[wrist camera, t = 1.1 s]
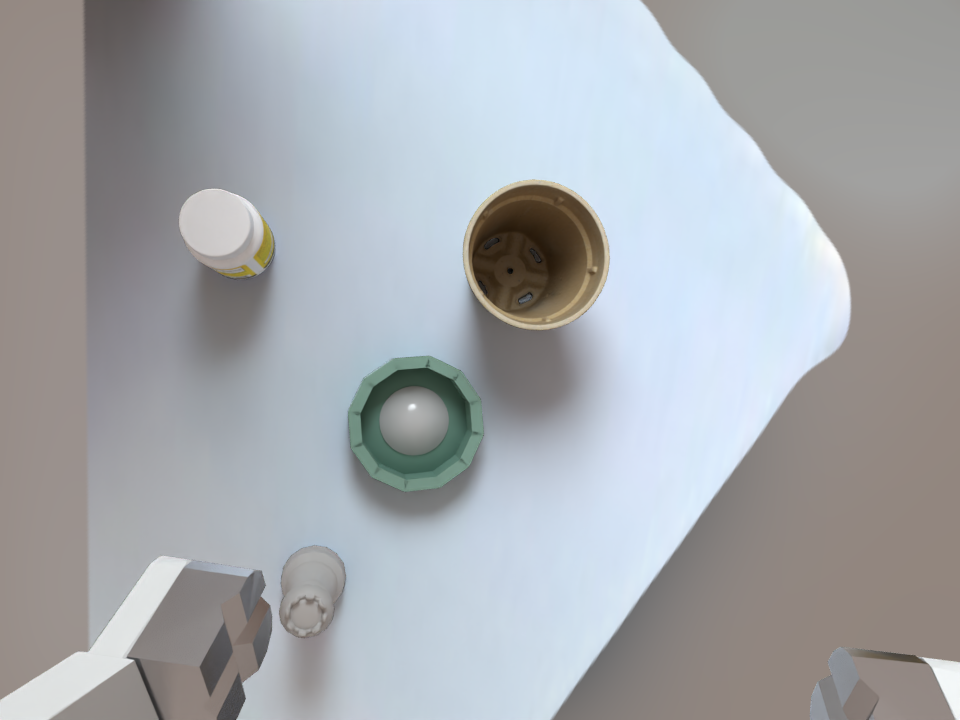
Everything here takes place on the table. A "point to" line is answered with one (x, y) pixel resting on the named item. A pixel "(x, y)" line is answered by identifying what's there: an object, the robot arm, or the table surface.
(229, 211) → the supplement bottle
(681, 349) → the table surface
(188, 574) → the robot arm
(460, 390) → the bowl
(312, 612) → the rook chess piece
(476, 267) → the flower pot
